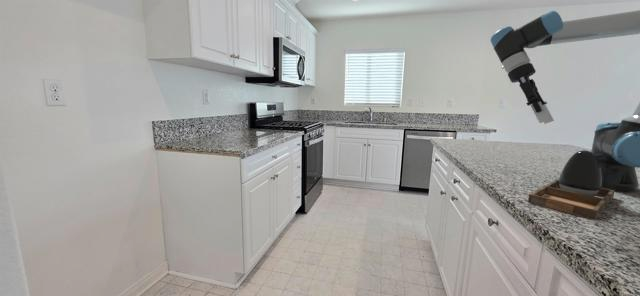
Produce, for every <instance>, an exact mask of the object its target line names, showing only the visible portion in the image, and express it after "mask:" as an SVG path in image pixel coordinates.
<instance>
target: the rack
mask: <svg viewBox="0 0 640 296" xmlns="http://www.w3.org/2000/svg"><path fill="white" fill-rule="evenodd" d="M558 181H559V178H558V179H557V178H556V179H554V180H552V181H551V182H549V183H547V184H546V185H545V184H544V186H542V187H539V188H538V189H536V190H534V191H533V192H531V193H529V195H528V198H527V199H528V200H527V203H530V204H532V205H533V204H534V205H537V206H541V207H546V208H548V209H552V210H556V211H561V212H565V213H568V214H570V215H574V216H575V215H576V216H579V217H582V218H587V219H591V220H594V221H595V220H596V219H597V218H598V217H599V216H600V214H601V213H602V212H603V211H604V209H605V208H606V207H607V206H608V205H609V203H611V201H612V200H613V199H614V196H615V191H616V190H610V189H605V188H601V190H599V192H598V193H597V194H596V195H595V196H589V195H584V194H580V193H575V192H571V191H566V190H561V188H560V183H559V182H558ZM597 196H599V197H597ZM601 197H602V198H601Z"/></svg>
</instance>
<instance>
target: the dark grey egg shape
mask: <svg viewBox="0 0 640 296" xmlns="http://www.w3.org/2000/svg"><path fill="white" fill-rule="evenodd" d="M603 157H605V154H599V155H595V154H594V153H592V152H591V150H584V149H583V150H578V151H576V152H574V153H573V154H572V155H571V156H570V157H569V159H568V160H567V161H566V163H565V165H564V167H563V168H562V170H561V172H560V174H559V178H558V180H559V181H558V182H559V183H560V187H559V189H561V190H566V191H571V192H575V193H580V194H584V195H589V196H594V197H596V196H597V195H596V194H597V193H598V192H599V190H601V188H602V172H601V167H600V164H599V161H598V159H600V158H603Z"/></svg>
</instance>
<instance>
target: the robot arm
mask: <svg viewBox="0 0 640 296" xmlns="http://www.w3.org/2000/svg"><path fill="white" fill-rule="evenodd" d="M635 35H640V9H639V10H633V11H624V12H619V13H611V14H606V15H605V14H604V15H598V16H591V17H586V18H581V19H571V20H566V21H563V19H562V17H561V15H560V14H559V13H558V11H555V10H551V11H549V12H546V13H544V14H542V15H540V16H539V17H537V18H535V19H533V20H531V21H529V22H527V23H525V24H524V25H522V26H520V27H517V28H513V27H512V26H505V27H503V28H501V29H499V30H497V31H496V32H495V33H494V34H492V36H491V38H490V43H491V45H492V47H493V50H494V51H495V54H496V55H497V57H498V59H499V61H500V63H501V64H502V66H501V69H502V70H505V72H506V73H507V77H508V78H509V81H510V82H511V83H519V84H518V85H519V88H520V89H521V90H522V92H523V94H524V95H525V98H526V101H527V102H526V105H527V106H530V107H531V110H532V111H533V113H534V115H535V117H536V119H537V120H538V123H540V124H542V123H544V125H546V124H548V123H551V122H554V121H555V120H554V118H553V116H552V114H551V112H550V110H549V109H548V106H547V104H548V102H547V101H544V100H543V98H542V96H541V94H540V92H539V90H538V87H537V86H536V85H537V84H536V82H535V80H534V79H533V78H531V79H530V77H531V76H533V75H534V74H536V73H537V71H536V69H535V67H534V65H533V63H531V59H530V58H529V55H528V54H527V52H526V50H525V49H534V48H537V47H541V46H548V45H550V46H551V45H556V44H563V43H564V44H566V43H573V42H583V41H591V40H600V39H608V38H616V37H625V36H635ZM590 152H592V153H594V154H595V155H599V154H605V157H603V158H600V159H598V161H599V164H600V167H601V172H602V188H605V189H610V190H615V191H616V192H617V191H619V192H637V191H638V190H639V185H640V183H639V180H638V176H637V171H636V168H639V169H640V102H639V103H638V105H637V106H636V108H635V110H634V112H633V113H632V115H631V116H630V115H629V116H628V117H625V118H622V120H621V122H601V123H598V124H597V125H596V128H595V130H594V137H593V142H592V146H591V150H590Z"/></svg>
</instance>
